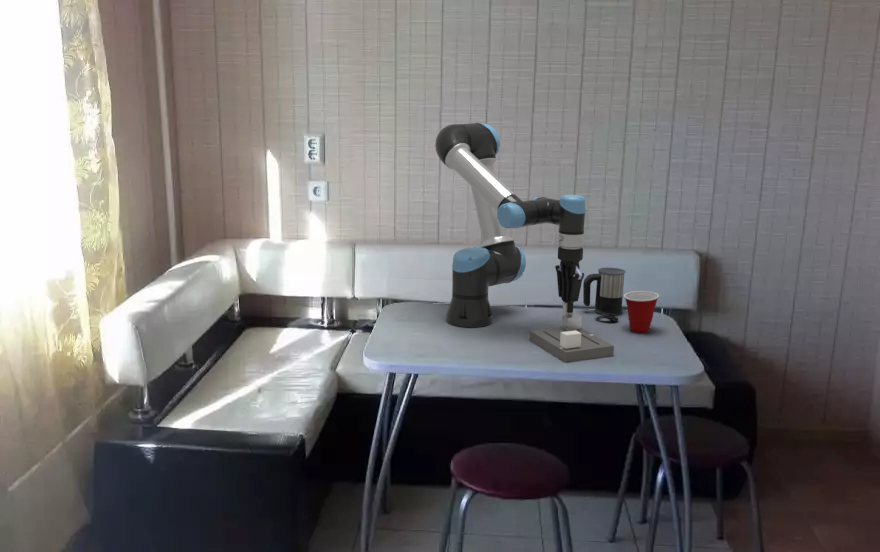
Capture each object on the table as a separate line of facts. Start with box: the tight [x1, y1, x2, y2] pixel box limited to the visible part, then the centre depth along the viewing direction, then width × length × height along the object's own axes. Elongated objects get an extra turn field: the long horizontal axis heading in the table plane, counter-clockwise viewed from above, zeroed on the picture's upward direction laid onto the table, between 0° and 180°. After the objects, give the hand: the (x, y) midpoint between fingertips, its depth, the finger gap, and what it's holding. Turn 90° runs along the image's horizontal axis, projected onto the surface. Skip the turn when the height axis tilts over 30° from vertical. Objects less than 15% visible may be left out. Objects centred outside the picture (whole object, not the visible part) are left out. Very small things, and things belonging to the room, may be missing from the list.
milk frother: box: [582, 267, 627, 322], centre depth 273 cm, size 14×16×15 cm
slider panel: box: [528, 326, 615, 363], centre depth 243 cm, size 21×16×3 cm
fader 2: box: [560, 330, 581, 349], centre depth 234 cm, size 3×5×4 cm, turn 113°
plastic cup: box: [623, 290, 660, 334], centre depth 258 cm, size 11×11×12 cm
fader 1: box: [561, 313, 583, 331], centre depth 250 cm, size 3×5×4 cm, turn 113°
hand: (567, 321), depth 252 cm, fingers closed
